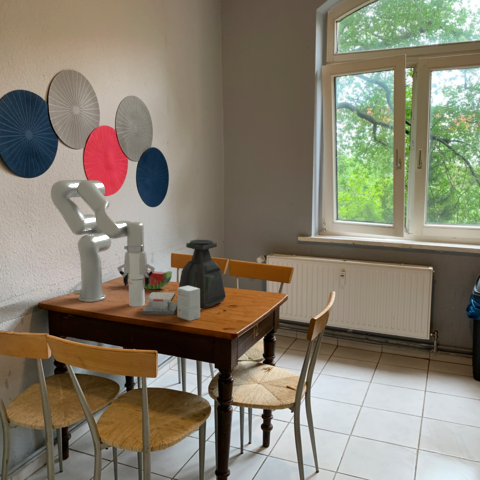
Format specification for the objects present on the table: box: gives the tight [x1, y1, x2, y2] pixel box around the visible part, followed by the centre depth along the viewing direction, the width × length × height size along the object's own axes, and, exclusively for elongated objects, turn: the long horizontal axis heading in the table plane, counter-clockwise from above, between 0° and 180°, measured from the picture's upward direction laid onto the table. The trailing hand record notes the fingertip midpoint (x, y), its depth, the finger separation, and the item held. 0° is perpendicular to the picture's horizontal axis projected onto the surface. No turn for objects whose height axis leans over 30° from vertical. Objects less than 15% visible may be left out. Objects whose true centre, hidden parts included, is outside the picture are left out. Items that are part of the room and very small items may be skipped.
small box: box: [176, 286, 201, 322], centre depth 196 cm, size 8×6×13 cm
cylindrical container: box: [128, 253, 146, 308], centre depth 213 cm, size 7×7×25 cm
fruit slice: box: [127, 269, 173, 290], centre depth 245 cm, size 26×6×10 cm, turn 65°
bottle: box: [178, 239, 227, 310], centre depth 215 cm, size 18×16×30 cm
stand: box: [141, 291, 177, 316], centre depth 207 cm, size 14×14×6 cm
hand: (136, 285), depth 213 cm, fingers open, 9 cm apart
